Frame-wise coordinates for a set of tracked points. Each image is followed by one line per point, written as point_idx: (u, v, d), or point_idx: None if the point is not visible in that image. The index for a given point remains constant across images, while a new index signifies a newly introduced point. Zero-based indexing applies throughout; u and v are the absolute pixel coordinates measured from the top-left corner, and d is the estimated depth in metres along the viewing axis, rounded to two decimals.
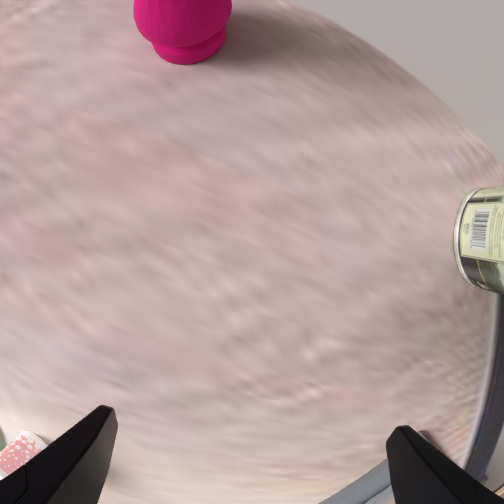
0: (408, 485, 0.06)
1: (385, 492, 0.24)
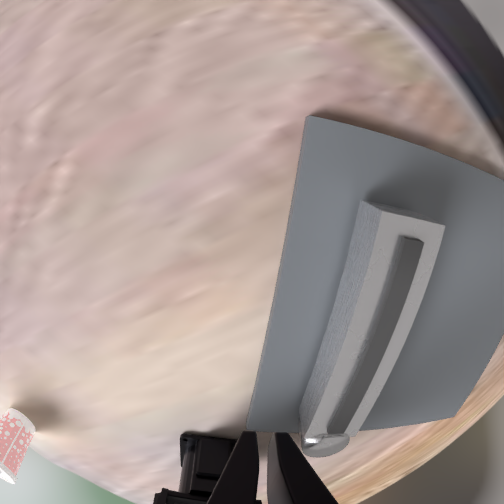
0: (276, 502, 0.06)
1: (348, 263, 0.17)
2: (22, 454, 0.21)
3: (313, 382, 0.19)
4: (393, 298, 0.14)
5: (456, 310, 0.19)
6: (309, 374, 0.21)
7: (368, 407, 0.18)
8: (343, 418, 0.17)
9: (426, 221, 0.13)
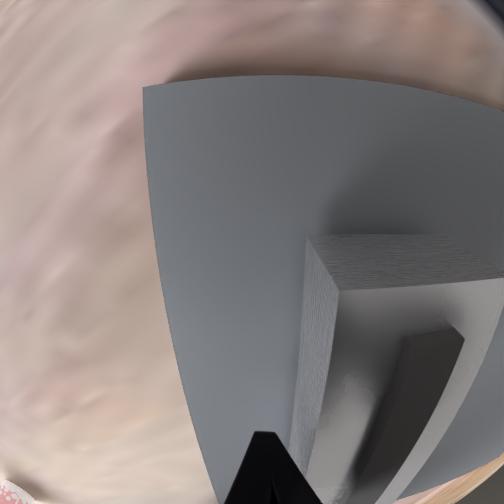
0: None
1: (300, 365, 0.08)
2: None
3: None
4: (388, 448, 0.06)
5: None
6: None
7: None
8: None
9: (470, 281, 0.05)
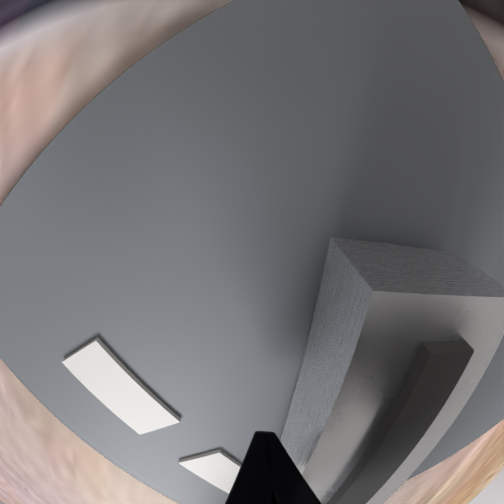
0: None
1: (306, 364, 0.08)
2: None
3: None
4: (387, 453, 0.06)
5: None
6: (219, 493, 0.13)
7: None
8: None
9: (484, 296, 0.05)
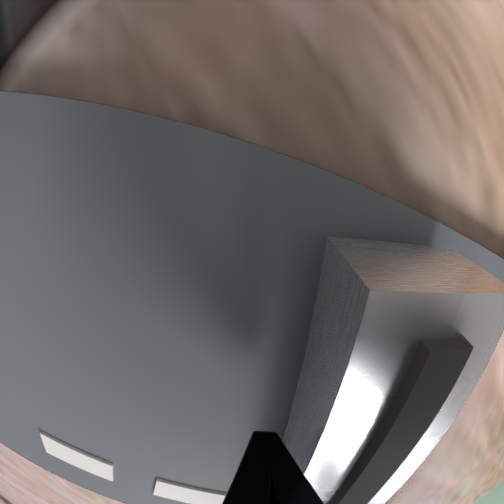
0: None
1: (306, 364, 0.08)
2: None
3: None
4: (389, 450, 0.06)
5: (123, 376, 0.10)
6: None
7: None
8: None
9: (482, 293, 0.05)
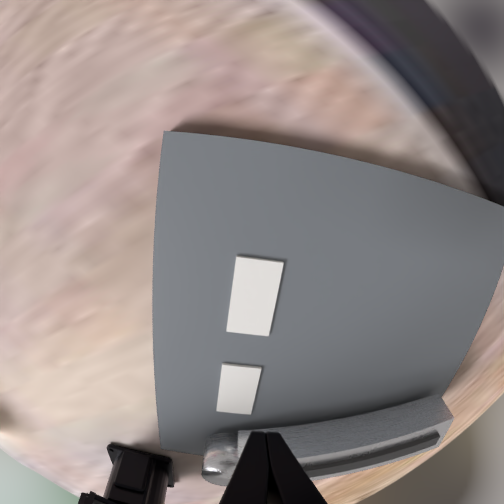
0: (267, 502, 0.06)
1: (402, 408, 0.19)
2: None
3: (292, 435, 0.18)
4: (404, 451, 0.17)
5: (384, 345, 0.18)
6: (206, 403, 0.19)
7: None
8: None
9: (442, 437, 0.17)
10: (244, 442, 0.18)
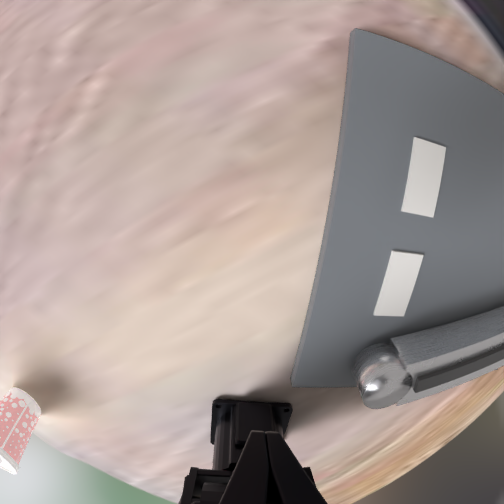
0: (266, 502, 0.06)
1: None
2: (25, 439, 0.20)
3: (441, 334, 0.18)
4: None
5: (501, 237, 0.17)
6: (366, 307, 0.19)
7: (437, 390, 0.17)
8: (438, 379, 0.16)
9: None
10: (402, 346, 0.18)
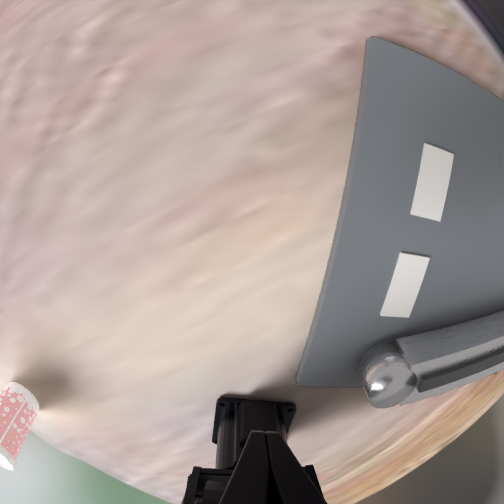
0: (266, 502, 0.06)
1: None
2: (23, 435, 0.20)
3: (444, 335, 0.18)
4: None
5: (503, 243, 0.18)
6: (373, 307, 0.19)
7: (439, 391, 0.18)
8: (442, 380, 0.17)
9: None
10: (407, 347, 0.18)
